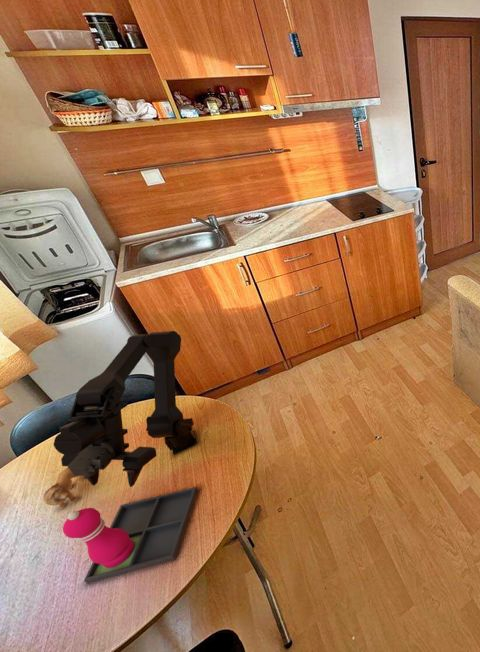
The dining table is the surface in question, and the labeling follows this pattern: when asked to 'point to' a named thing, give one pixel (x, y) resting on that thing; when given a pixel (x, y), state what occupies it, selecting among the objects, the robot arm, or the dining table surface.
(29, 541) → the dining table surface
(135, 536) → the grid
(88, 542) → the pepper mill
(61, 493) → the lion figurine
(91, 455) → the robot arm
